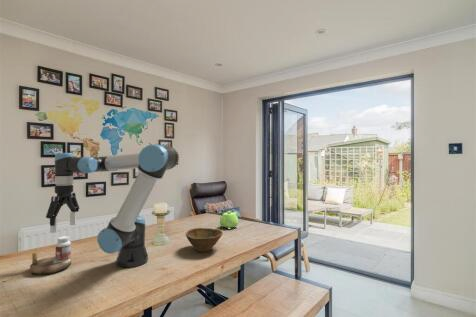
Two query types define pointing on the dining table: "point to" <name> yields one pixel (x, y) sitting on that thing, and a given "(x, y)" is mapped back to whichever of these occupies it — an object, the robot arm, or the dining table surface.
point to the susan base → (52, 272)
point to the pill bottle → (63, 249)
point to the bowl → (203, 238)
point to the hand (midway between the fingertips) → (63, 228)
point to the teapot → (229, 219)
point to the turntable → (47, 265)
